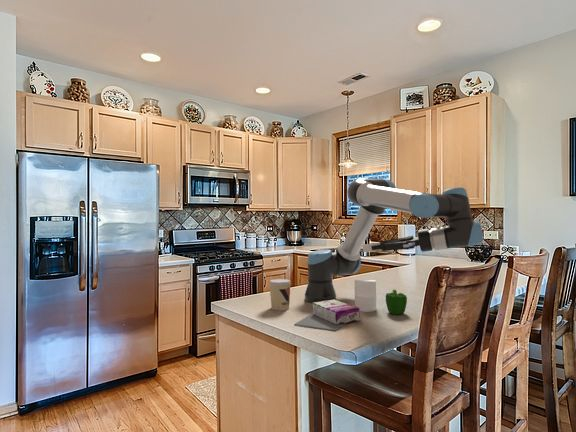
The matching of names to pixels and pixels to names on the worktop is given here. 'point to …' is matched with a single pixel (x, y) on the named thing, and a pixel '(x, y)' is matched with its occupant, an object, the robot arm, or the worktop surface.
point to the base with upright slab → (365, 295)
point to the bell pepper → (396, 302)
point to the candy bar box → (336, 311)
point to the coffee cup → (280, 293)
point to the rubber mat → (318, 323)
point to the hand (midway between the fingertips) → (363, 248)
